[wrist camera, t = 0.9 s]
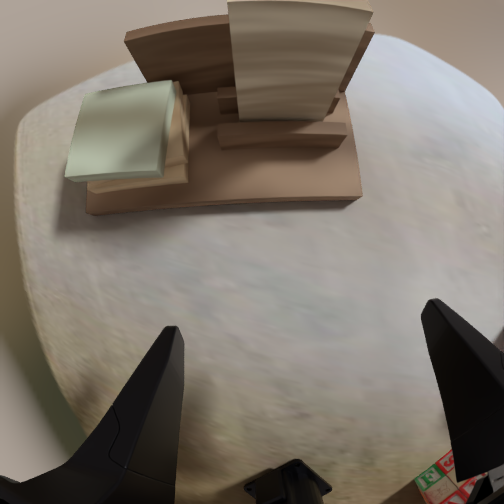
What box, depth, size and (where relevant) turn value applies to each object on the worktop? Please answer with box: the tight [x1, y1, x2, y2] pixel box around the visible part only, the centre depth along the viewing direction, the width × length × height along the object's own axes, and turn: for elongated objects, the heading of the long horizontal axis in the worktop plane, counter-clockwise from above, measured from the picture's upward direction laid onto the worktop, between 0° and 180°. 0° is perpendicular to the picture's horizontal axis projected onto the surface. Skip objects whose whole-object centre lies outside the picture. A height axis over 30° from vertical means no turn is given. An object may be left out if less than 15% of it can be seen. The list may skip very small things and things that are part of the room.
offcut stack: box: [64, 80, 190, 194], centre depth 19 cm, size 8×8×4 cm
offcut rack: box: [86, 14, 375, 216], centre depth 18 cm, size 10×22×10 cm, turn 93°
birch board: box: [227, 0, 373, 122], centre depth 14 cm, size 2×6×13 cm, turn 93°
